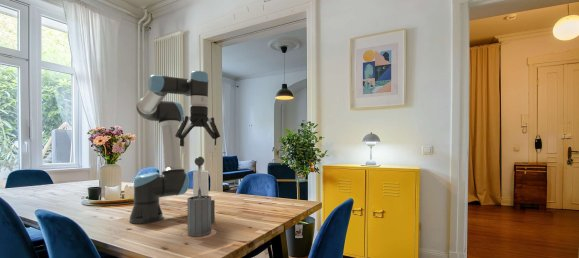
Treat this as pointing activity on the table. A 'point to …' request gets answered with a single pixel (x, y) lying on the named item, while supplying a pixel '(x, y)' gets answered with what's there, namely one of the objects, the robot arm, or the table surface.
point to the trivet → (185, 235)
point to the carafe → (200, 216)
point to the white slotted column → (203, 183)
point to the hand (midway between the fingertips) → (198, 153)
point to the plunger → (199, 175)
